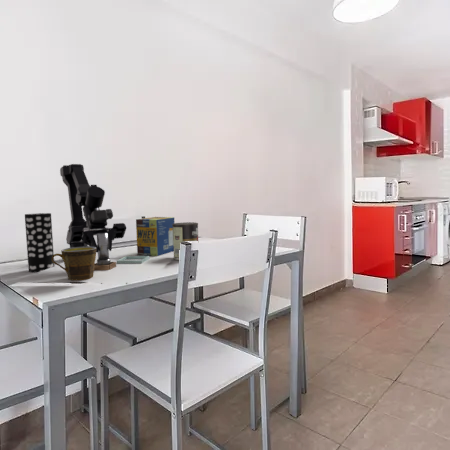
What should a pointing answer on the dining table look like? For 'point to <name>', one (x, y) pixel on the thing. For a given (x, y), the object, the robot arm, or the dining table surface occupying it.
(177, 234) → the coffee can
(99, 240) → the grey cylinder
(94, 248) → the ceramic cup
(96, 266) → the socket block
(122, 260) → the tray
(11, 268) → the dining table surface
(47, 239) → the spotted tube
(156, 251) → the protein box
